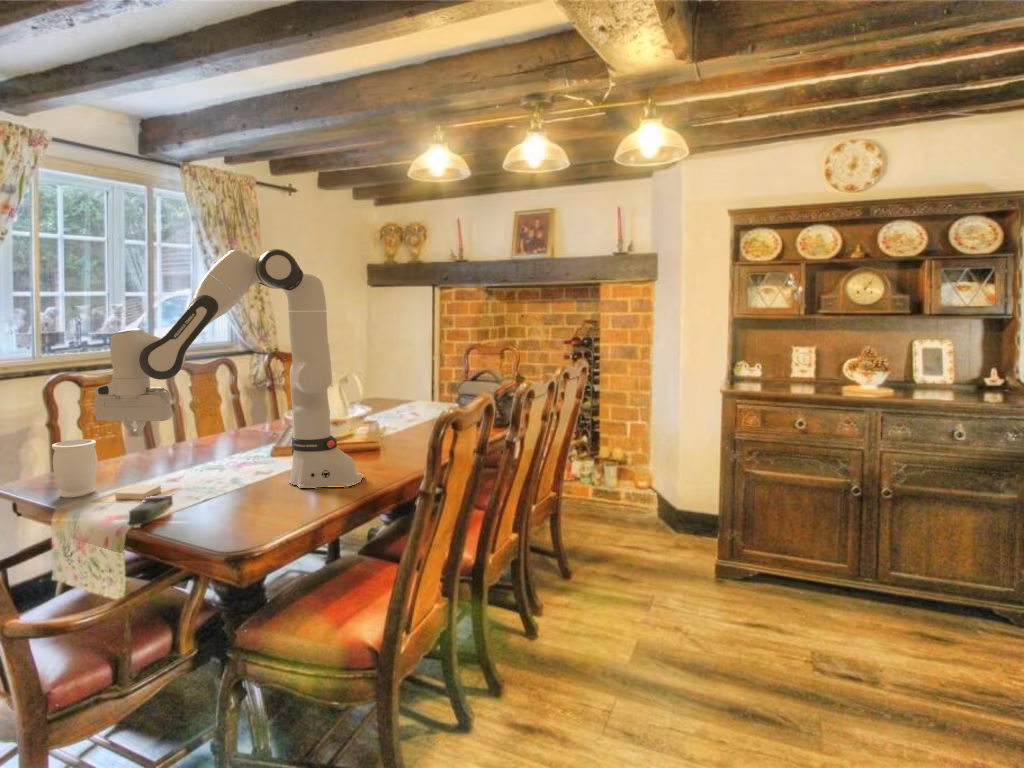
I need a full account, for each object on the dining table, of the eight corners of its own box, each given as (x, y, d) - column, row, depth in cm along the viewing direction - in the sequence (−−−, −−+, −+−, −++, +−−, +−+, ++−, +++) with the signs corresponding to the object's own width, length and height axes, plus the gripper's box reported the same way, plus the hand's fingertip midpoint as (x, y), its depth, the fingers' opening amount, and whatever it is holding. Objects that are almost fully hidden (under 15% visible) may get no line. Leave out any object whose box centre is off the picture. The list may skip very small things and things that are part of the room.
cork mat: (183, 490, 183) (183, 488, 183) (155, 505, 169) (154, 503, 169) (123, 489, 184) (123, 487, 184) (90, 504, 170) (89, 502, 170)
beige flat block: (160, 485, 180) (133, 485, 180) (143, 493, 172) (115, 493, 172) (161, 491, 180) (133, 490, 180) (144, 499, 172) (115, 499, 172)
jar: (73, 488, 184) (70, 438, 183) (107, 488, 184) (104, 439, 182) (45, 499, 174) (41, 446, 172) (82, 499, 173) (78, 447, 172)
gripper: (175, 386, 176) (178, 434, 177) (104, 386, 176) (108, 433, 178) (162, 389, 169) (165, 438, 171) (88, 388, 170) (92, 438, 172)
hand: (135, 436), depth 174 cm, fingers closed
